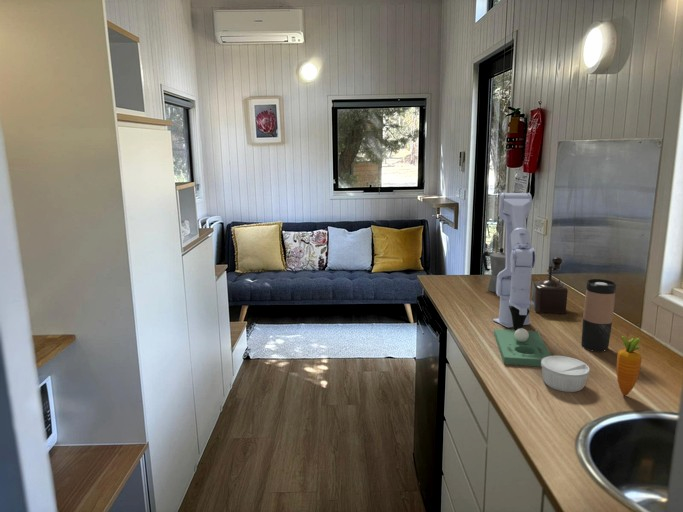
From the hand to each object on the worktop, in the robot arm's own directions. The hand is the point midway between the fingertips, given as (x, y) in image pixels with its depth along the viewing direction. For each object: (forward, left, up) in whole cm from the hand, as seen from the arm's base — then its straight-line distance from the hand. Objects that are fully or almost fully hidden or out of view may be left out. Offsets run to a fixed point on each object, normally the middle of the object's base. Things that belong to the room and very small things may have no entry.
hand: (517, 329), depth 152 cm
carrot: (0, +38, -3) cm, 38 cm away
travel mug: (-17, +13, -3) cm, 22 cm away
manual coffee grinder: (-31, -22, -3) cm, 38 cm away
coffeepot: (-28, -48, -3) cm, 55 cm away
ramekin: (+9, +28, -3) cm, 30 cm away
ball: (+3, +6, +1) cm, 7 cm away
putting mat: (+4, +7, -3) cm, 9 cm away
